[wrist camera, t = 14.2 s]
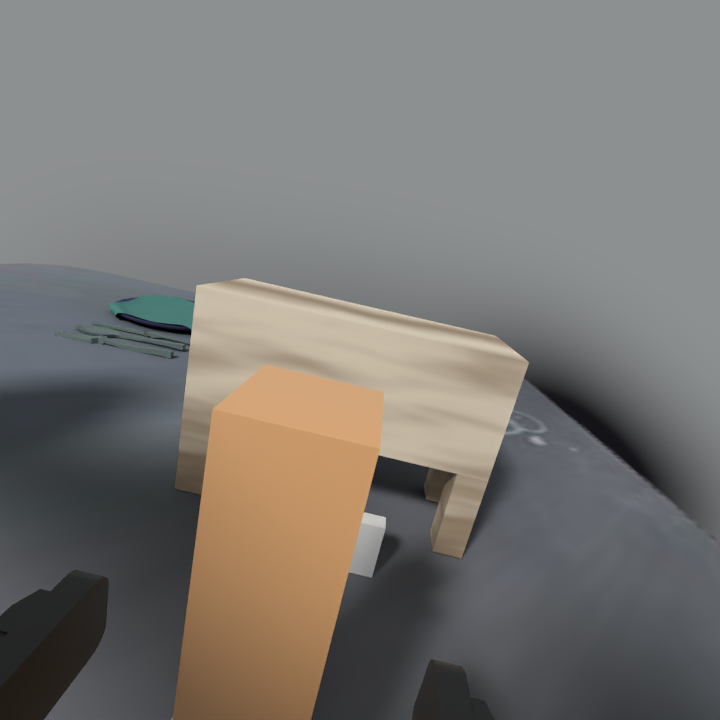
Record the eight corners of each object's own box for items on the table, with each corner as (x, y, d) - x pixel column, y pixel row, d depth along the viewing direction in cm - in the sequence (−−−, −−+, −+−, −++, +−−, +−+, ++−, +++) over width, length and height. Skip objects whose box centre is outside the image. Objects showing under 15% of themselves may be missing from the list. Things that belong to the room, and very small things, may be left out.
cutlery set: (253, 323, 79) (255, 311, 79) (183, 368, 50) (184, 351, 50) (153, 302, 79) (153, 290, 78) (24, 335, 50) (23, 317, 49)
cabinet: (461, 558, 27) (528, 362, 23) (174, 488, 28) (196, 285, 24) (444, 482, 36) (491, 332, 33) (229, 430, 37) (251, 277, 33)
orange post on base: (337, 1073, 9) (556, 542, 5) (9, 983, 10) (-7, 407, 6) (372, 565, 25) (436, 330, 21) (246, 534, 25) (286, 296, 21)
